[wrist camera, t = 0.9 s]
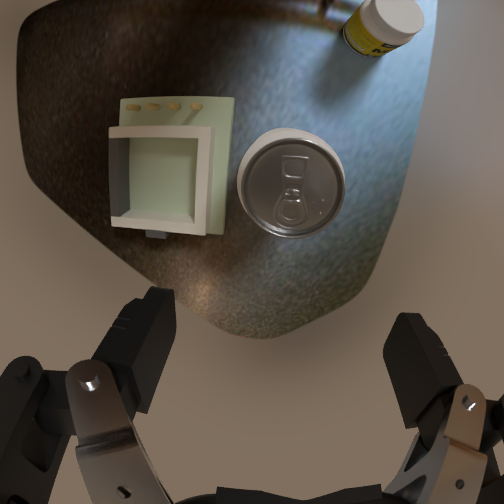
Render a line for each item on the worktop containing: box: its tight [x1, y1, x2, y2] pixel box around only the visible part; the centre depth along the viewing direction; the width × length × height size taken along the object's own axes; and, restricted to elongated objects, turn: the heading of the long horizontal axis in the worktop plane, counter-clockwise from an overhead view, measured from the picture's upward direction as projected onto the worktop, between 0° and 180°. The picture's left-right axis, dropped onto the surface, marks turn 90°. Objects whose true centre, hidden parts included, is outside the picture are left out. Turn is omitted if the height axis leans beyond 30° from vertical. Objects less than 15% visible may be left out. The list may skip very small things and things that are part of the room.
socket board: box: [109, 96, 235, 239], centre depth 25 cm, size 13×11×4 cm
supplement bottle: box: [343, 0, 424, 58], centre depth 16 cm, size 5×5×8 cm
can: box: [237, 128, 345, 239], centre depth 20 cm, size 6×6×12 cm
